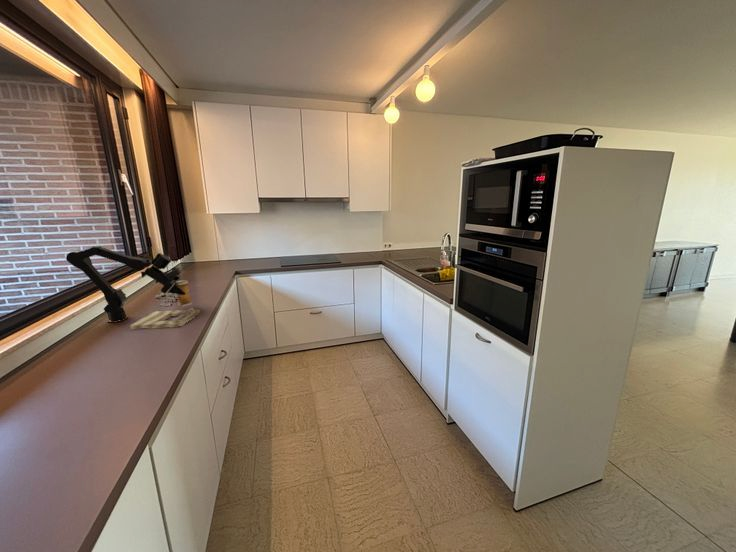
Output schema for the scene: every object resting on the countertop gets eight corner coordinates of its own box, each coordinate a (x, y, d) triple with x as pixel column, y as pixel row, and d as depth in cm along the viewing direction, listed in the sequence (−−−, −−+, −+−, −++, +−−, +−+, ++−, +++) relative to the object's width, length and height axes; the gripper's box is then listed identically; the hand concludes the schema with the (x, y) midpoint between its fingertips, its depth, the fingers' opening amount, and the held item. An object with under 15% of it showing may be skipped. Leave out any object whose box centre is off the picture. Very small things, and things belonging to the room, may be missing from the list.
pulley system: (181, 293, 204) (154, 297, 194) (181, 286, 203) (153, 290, 193) (190, 304, 184) (161, 309, 174) (189, 297, 183) (159, 302, 173)
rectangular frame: (130, 329, 146) (129, 325, 145) (155, 315, 163) (154, 311, 163) (181, 326, 146) (180, 323, 146) (200, 313, 164) (199, 309, 163)
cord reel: (176, 306, 164) (171, 283, 161) (182, 302, 170) (178, 280, 167) (188, 306, 164) (183, 283, 161) (194, 302, 170) (190, 280, 167)
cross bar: (172, 322, 146) (171, 319, 146) (190, 310, 162) (189, 307, 162) (176, 322, 147) (175, 319, 146) (193, 310, 162) (193, 307, 162)
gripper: (163, 267, 152) (192, 285, 158) (173, 260, 169) (198, 277, 175) (148, 284, 151) (178, 302, 157) (159, 276, 168) (185, 292, 174)
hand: (186, 292), depth 166 cm, fingers closed on cord reel, 6 cm apart
